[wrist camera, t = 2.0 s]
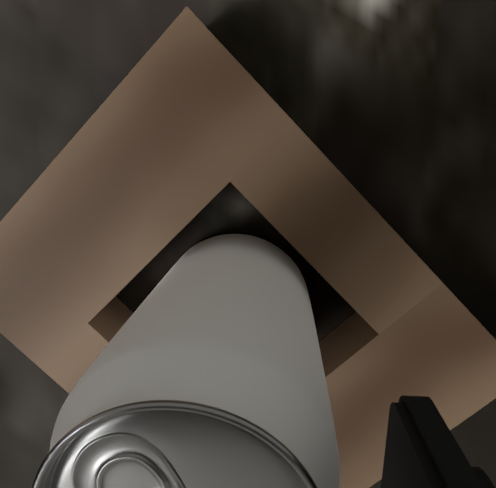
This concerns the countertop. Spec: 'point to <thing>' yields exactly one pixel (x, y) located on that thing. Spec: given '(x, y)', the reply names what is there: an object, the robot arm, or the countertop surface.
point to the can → (205, 384)
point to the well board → (268, 204)
